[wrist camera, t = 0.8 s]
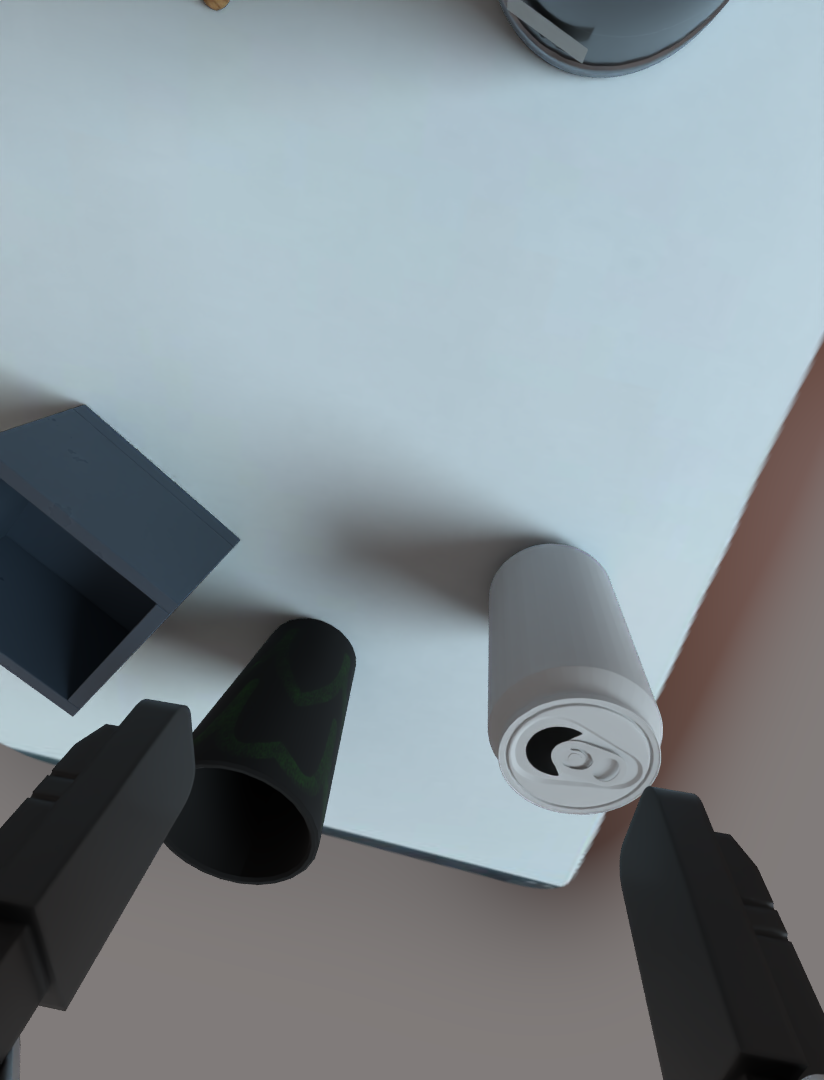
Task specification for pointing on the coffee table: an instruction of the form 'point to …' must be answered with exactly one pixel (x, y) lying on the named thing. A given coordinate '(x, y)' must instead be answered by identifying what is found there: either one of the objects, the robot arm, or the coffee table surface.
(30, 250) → the coffee table surface
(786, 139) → the coffee table surface
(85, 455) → the open box
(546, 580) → the beverage can
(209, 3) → the lion figurine
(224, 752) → the cup
